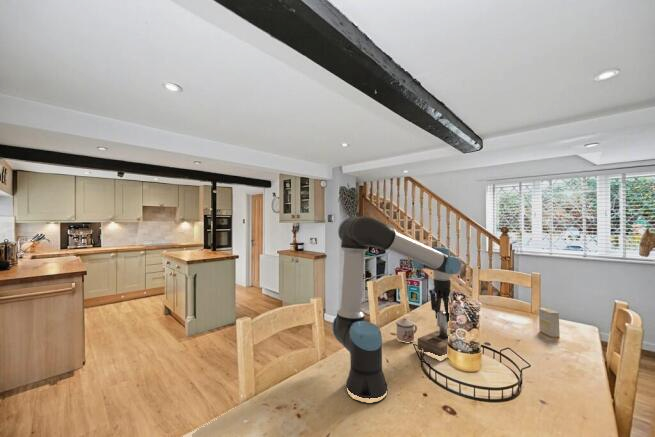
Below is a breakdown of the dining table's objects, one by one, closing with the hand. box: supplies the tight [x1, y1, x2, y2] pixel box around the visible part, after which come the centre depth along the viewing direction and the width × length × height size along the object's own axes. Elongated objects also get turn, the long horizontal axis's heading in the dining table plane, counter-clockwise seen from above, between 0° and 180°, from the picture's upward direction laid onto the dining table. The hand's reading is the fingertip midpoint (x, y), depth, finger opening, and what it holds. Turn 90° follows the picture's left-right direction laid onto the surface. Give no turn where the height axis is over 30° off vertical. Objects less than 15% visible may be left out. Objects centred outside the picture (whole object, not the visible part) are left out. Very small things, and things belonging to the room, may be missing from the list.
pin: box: [438, 310, 448, 338], centre depth 128 cm, size 3×3×12 cm
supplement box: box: [538, 307, 560, 338], centre depth 143 cm, size 8×5×13 cm, turn 179°
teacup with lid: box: [395, 316, 418, 342], centre depth 139 cm, size 12×9×12 cm
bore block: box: [417, 330, 450, 356], centre depth 126 cm, size 16×12×6 cm
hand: (443, 327), depth 128 cm, fingers closed on pin, 3 cm apart
